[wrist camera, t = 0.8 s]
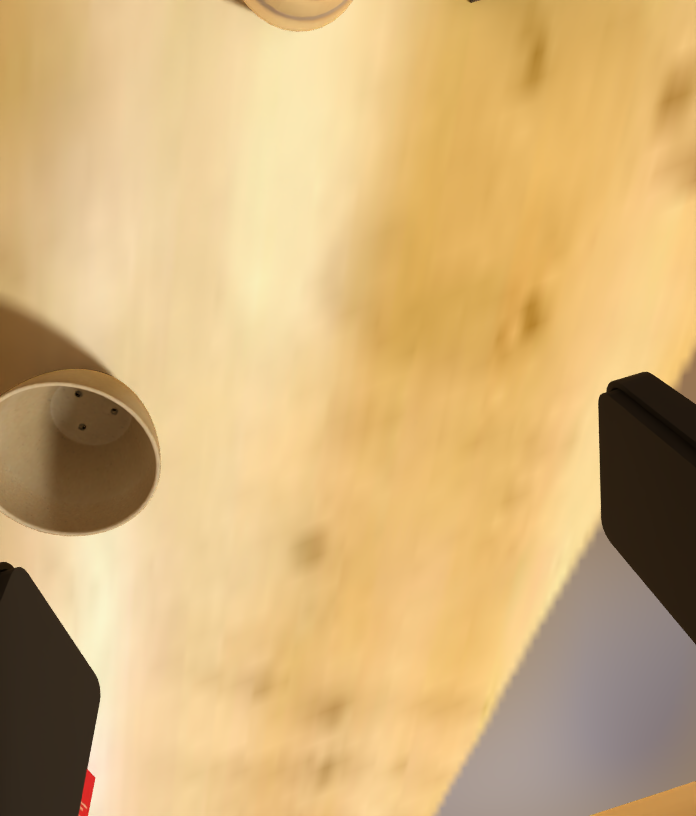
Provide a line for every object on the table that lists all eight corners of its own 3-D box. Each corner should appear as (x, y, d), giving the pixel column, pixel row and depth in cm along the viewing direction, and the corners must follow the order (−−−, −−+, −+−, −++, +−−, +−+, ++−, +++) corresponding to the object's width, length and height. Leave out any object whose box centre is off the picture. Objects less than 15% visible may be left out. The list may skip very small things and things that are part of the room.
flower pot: (90, 304, 38) (62, 346, 32) (202, 415, 43) (197, 471, 36) (-27, 400, 40) (-76, 458, 33) (93, 497, 44) (70, 565, 38)
